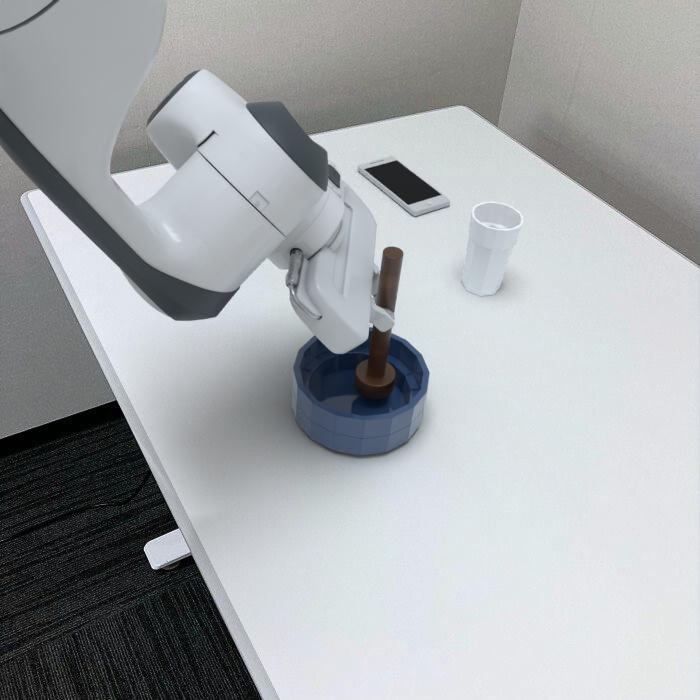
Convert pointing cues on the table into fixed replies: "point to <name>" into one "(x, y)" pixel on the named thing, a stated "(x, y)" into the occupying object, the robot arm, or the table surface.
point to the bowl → (357, 397)
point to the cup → (490, 246)
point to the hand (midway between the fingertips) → (390, 313)
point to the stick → (381, 333)
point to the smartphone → (403, 185)
